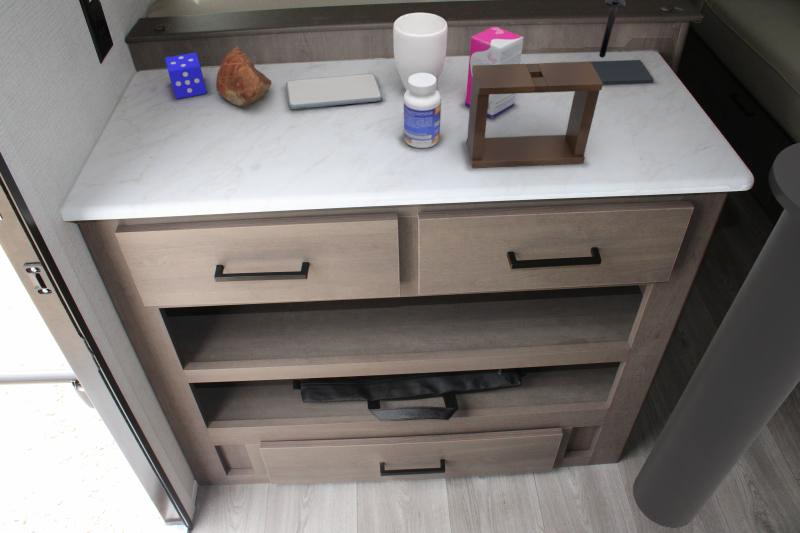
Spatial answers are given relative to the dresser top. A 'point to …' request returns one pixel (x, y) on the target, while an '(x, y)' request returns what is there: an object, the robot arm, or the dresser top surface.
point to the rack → (532, 81)
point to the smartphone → (333, 91)
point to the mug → (419, 45)
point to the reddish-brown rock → (240, 79)
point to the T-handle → (610, 23)
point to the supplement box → (494, 62)
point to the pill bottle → (422, 111)
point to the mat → (622, 72)
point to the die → (186, 75)
